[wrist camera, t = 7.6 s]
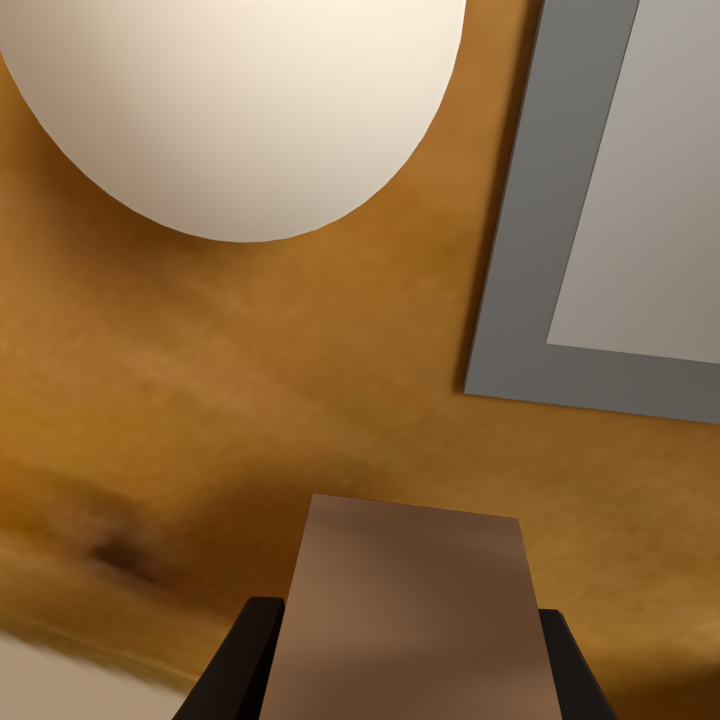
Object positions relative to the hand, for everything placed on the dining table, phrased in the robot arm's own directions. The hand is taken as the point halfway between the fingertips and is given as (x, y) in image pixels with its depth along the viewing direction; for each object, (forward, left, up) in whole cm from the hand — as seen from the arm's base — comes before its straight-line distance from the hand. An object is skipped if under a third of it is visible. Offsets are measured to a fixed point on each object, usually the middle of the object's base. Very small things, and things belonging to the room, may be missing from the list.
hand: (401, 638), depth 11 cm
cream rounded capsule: (+3, -10, -5) cm, 11 cm away
